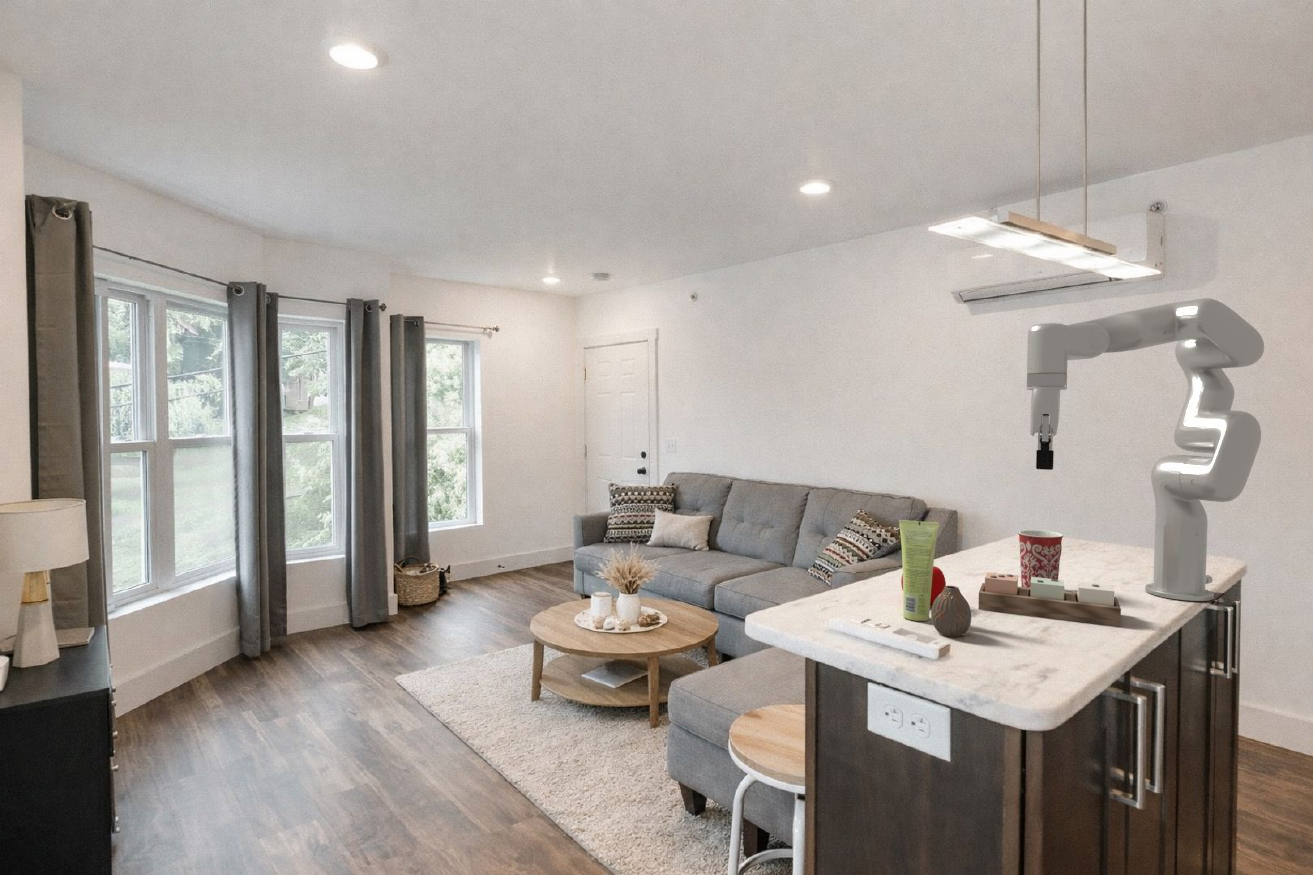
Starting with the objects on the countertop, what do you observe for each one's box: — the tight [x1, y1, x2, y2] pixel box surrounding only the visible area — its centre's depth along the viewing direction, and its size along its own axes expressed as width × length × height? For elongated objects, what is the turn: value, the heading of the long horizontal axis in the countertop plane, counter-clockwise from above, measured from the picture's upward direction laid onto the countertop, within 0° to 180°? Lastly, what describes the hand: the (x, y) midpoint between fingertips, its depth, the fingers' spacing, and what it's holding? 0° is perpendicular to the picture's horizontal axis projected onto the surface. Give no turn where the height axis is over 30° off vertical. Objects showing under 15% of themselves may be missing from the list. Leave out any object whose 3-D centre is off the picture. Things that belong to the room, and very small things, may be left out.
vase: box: [930, 585, 972, 638], centre depth 133 cm, size 7×7×9 cm
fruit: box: [900, 565, 947, 606], centre depth 155 cm, size 9×9×10 cm
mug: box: [1017, 529, 1064, 588], centre depth 166 cm, size 13×9×14 cm
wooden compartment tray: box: [977, 582, 1122, 628], centre depth 149 cm, size 25×10×4 cm, turn 61°
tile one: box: [1076, 581, 1115, 606], centre depth 144 cm, size 6×6×3 cm
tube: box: [898, 519, 940, 622], centre depth 143 cm, size 6×5×20 cm
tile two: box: [1030, 577, 1065, 600], centre depth 149 cm, size 6×6×3 cm
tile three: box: [984, 572, 1019, 595], centre depth 153 cm, size 6×6×3 cm
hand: (1044, 469), depth 153 cm, fingers closed
